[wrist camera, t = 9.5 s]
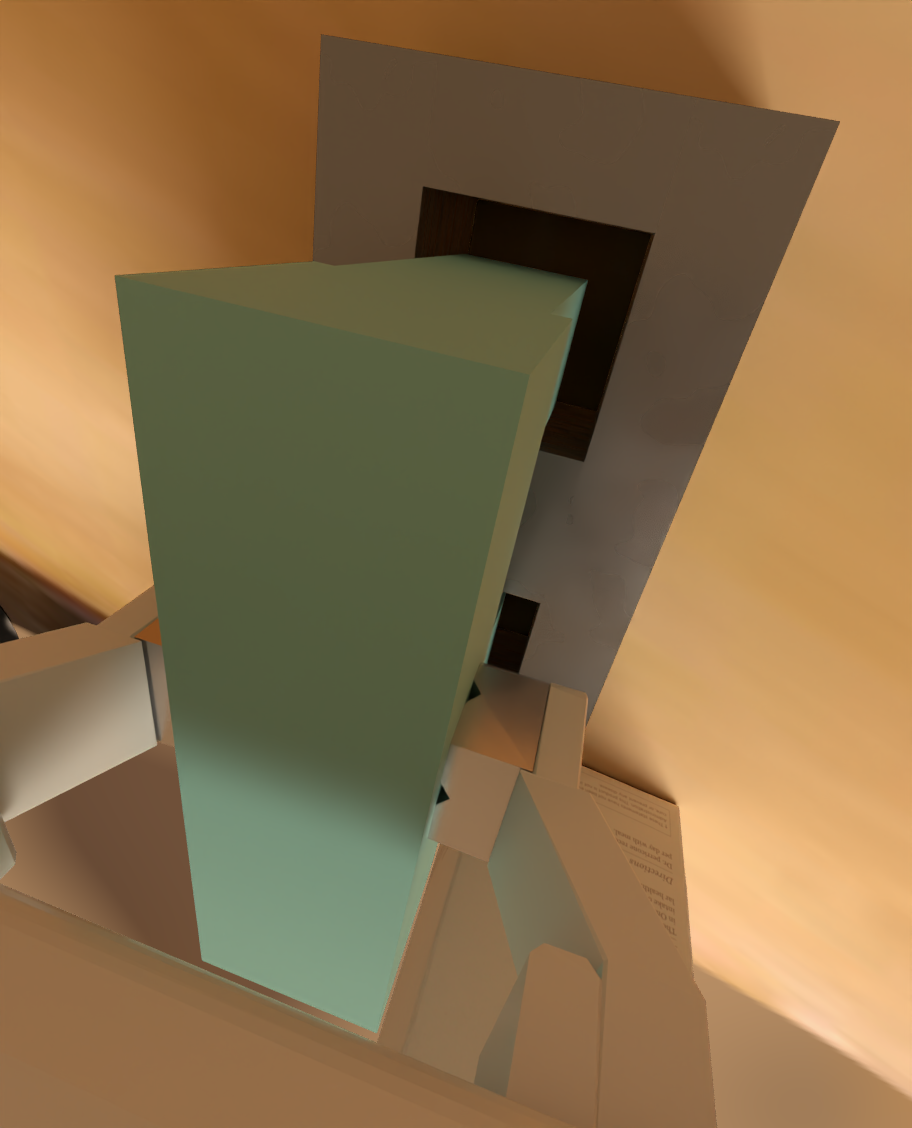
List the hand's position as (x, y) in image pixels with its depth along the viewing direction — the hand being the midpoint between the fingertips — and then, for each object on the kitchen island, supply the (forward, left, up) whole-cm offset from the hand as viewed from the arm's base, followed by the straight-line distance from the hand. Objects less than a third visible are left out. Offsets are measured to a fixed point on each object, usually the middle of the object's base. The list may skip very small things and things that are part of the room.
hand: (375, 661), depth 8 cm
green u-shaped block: (0, 0, -7) cm, 7 cm away
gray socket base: (0, 0, -9) cm, 9 cm away
